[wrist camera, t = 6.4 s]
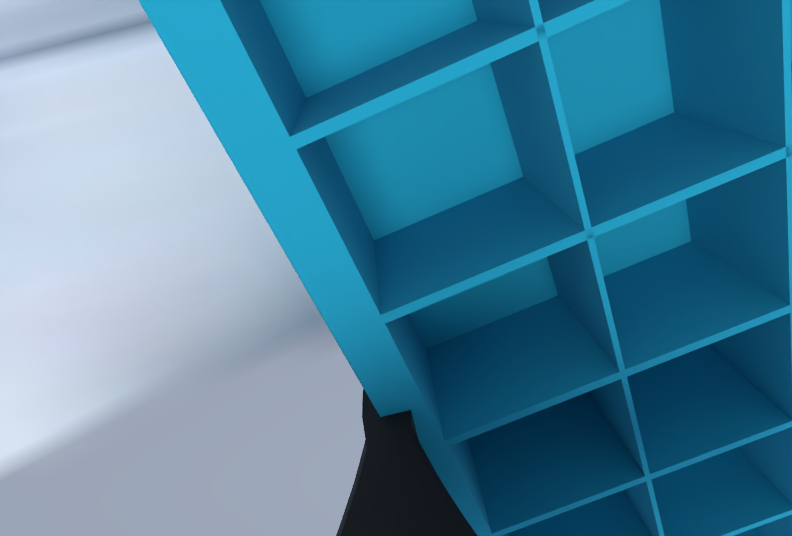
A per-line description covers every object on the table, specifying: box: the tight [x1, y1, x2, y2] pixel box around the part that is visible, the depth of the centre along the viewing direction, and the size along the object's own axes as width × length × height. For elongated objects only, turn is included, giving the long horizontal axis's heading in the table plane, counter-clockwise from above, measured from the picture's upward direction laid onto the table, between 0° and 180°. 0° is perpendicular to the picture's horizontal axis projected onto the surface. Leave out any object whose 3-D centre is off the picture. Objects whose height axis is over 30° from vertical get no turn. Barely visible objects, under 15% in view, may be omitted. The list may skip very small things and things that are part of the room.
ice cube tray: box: [139, 0, 792, 536], centre depth 10 cm, size 12×20×3 cm, turn 22°
